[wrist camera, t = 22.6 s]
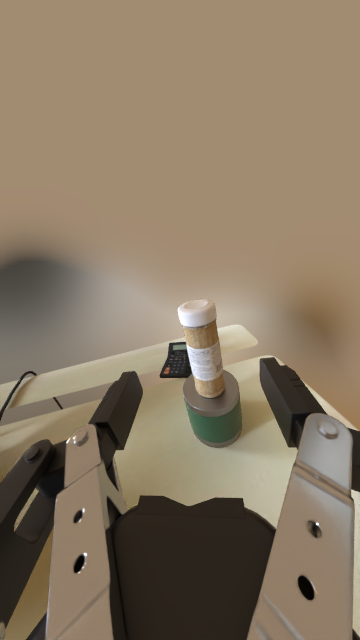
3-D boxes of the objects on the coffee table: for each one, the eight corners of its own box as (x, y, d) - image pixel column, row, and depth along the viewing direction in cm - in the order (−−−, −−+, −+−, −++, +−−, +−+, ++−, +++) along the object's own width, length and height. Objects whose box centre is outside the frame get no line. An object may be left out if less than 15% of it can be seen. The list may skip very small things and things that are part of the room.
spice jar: (207, 372, 29) (194, 296, 23) (231, 384, 25) (222, 299, 20) (189, 390, 26) (169, 309, 21) (213, 405, 23) (197, 314, 17)
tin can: (181, 422, 30) (171, 389, 27) (212, 392, 34) (207, 361, 31) (220, 462, 24) (213, 424, 20) (252, 419, 28) (250, 382, 25)
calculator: (160, 378, 42) (157, 368, 41) (172, 350, 52) (169, 342, 51) (197, 377, 39) (195, 367, 38) (202, 348, 49) (200, 340, 48)
